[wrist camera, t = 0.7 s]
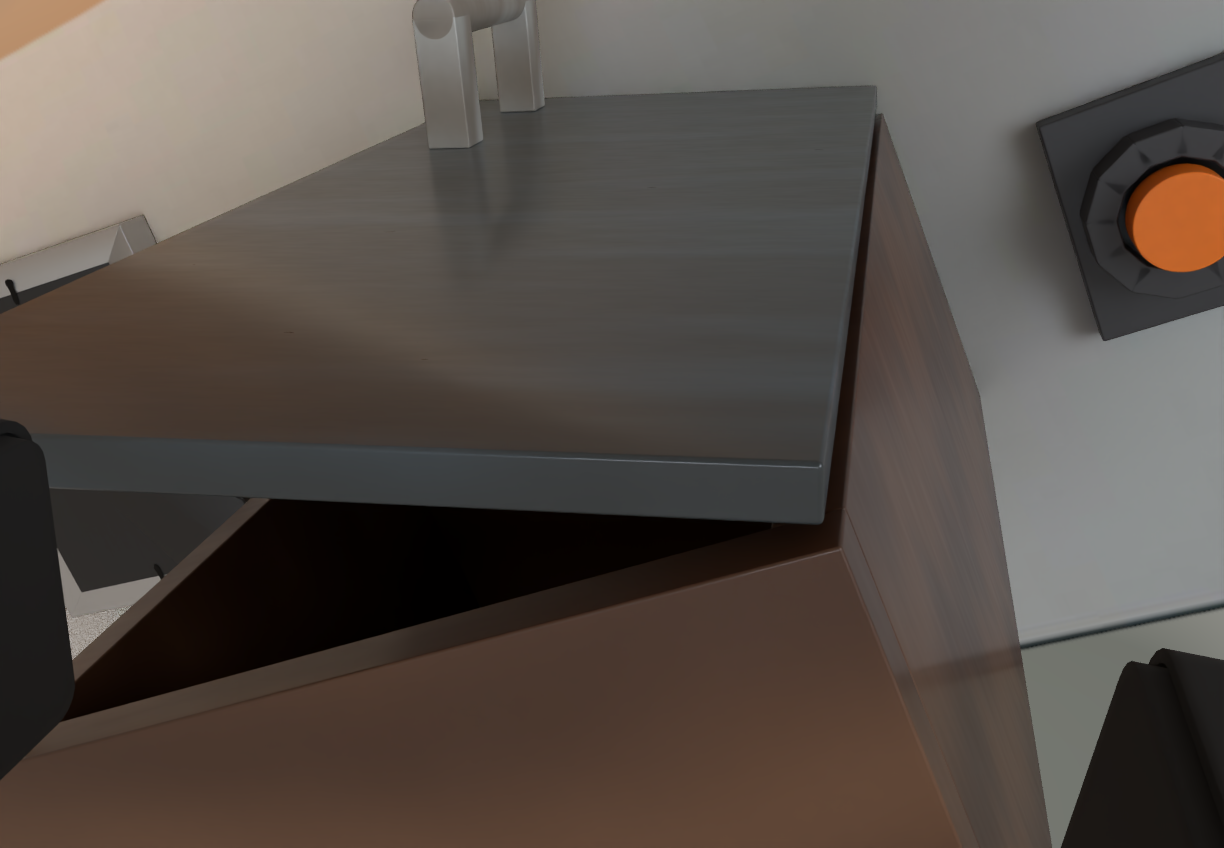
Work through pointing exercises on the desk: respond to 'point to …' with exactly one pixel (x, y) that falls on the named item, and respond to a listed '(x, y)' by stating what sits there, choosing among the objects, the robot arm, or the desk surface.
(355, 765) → the cupboard
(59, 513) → the picture frame
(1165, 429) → the desk surface
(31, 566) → the robot arm
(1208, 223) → the button
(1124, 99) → the control block
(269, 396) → the cupboard door
